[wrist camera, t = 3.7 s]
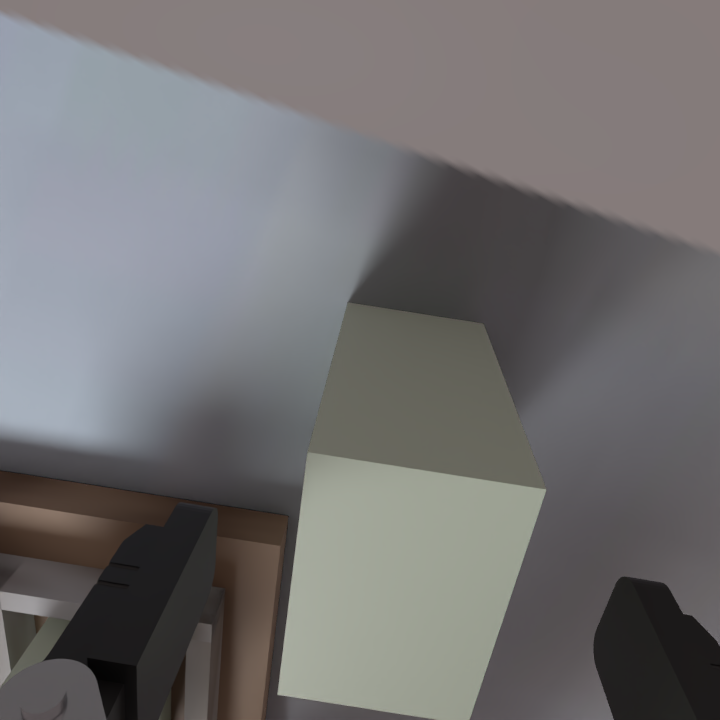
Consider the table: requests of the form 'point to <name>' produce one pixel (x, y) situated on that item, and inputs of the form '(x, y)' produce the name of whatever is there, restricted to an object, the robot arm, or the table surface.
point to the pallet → (93, 553)
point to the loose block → (408, 519)
